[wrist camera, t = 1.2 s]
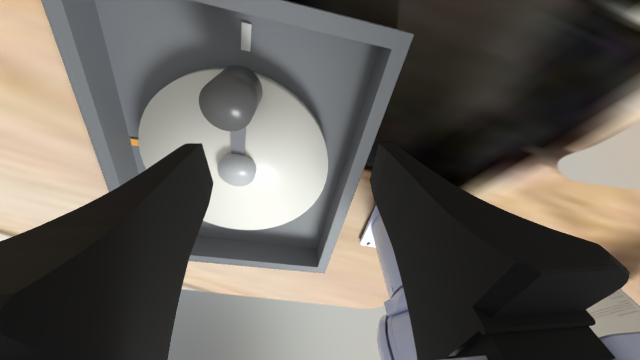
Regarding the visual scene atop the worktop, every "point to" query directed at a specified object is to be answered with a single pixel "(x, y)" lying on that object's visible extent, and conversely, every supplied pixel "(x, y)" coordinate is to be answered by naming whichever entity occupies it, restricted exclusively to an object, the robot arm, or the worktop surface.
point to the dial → (241, 144)
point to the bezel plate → (223, 51)
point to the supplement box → (615, 315)
